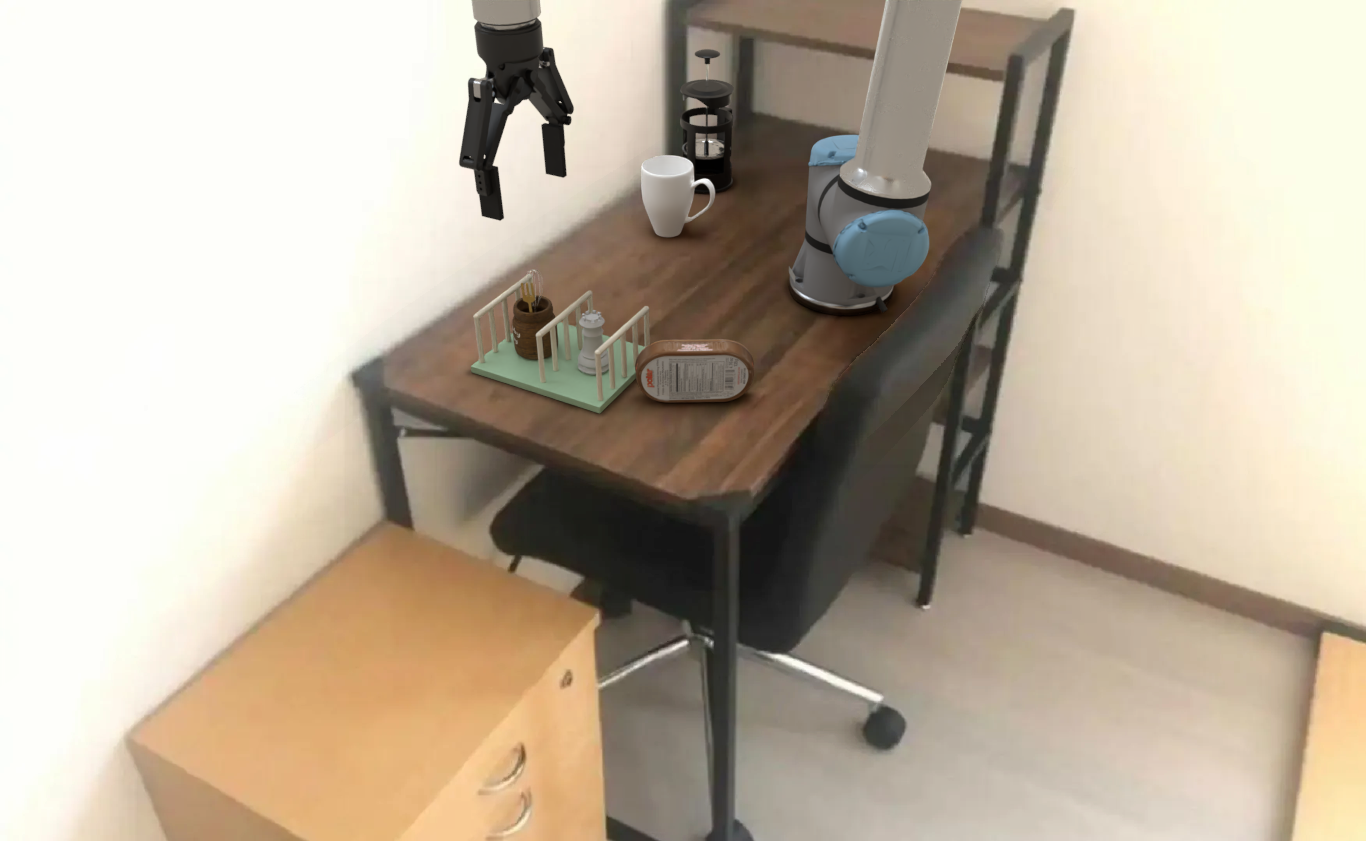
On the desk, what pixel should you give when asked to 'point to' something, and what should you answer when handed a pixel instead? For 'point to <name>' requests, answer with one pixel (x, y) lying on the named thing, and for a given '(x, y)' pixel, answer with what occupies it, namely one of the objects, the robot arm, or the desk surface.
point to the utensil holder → (532, 322)
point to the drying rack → (561, 356)
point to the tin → (694, 370)
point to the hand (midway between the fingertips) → (525, 195)
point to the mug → (670, 193)
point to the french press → (709, 129)
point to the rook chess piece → (592, 343)
